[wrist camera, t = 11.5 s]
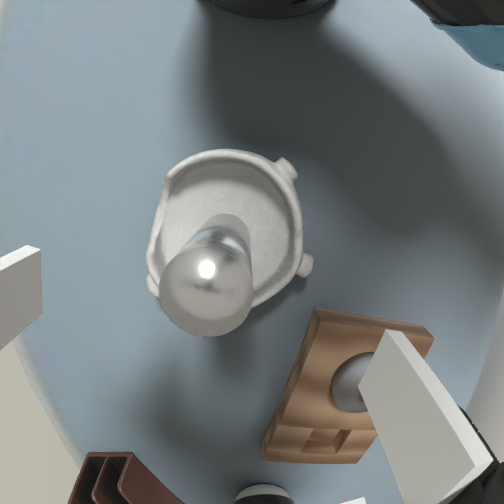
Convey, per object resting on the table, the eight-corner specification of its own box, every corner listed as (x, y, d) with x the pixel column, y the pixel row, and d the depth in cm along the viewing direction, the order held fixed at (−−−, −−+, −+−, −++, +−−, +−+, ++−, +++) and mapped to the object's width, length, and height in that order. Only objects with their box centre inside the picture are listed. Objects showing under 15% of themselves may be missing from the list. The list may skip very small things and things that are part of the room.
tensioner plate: (314, 306, 31) (328, 338, 25) (422, 325, 32) (448, 353, 26) (261, 443, 37) (262, 478, 31) (352, 449, 37) (361, 479, 31)
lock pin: (204, 207, 23) (167, 237, 12) (256, 220, 24) (264, 261, 12) (193, 257, 24) (153, 323, 13) (243, 269, 25) (240, 345, 13)
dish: (160, 294, 31) (146, 316, 26) (152, 154, 27) (133, 152, 22) (304, 295, 31) (313, 318, 26) (309, 151, 27) (321, 149, 22)
